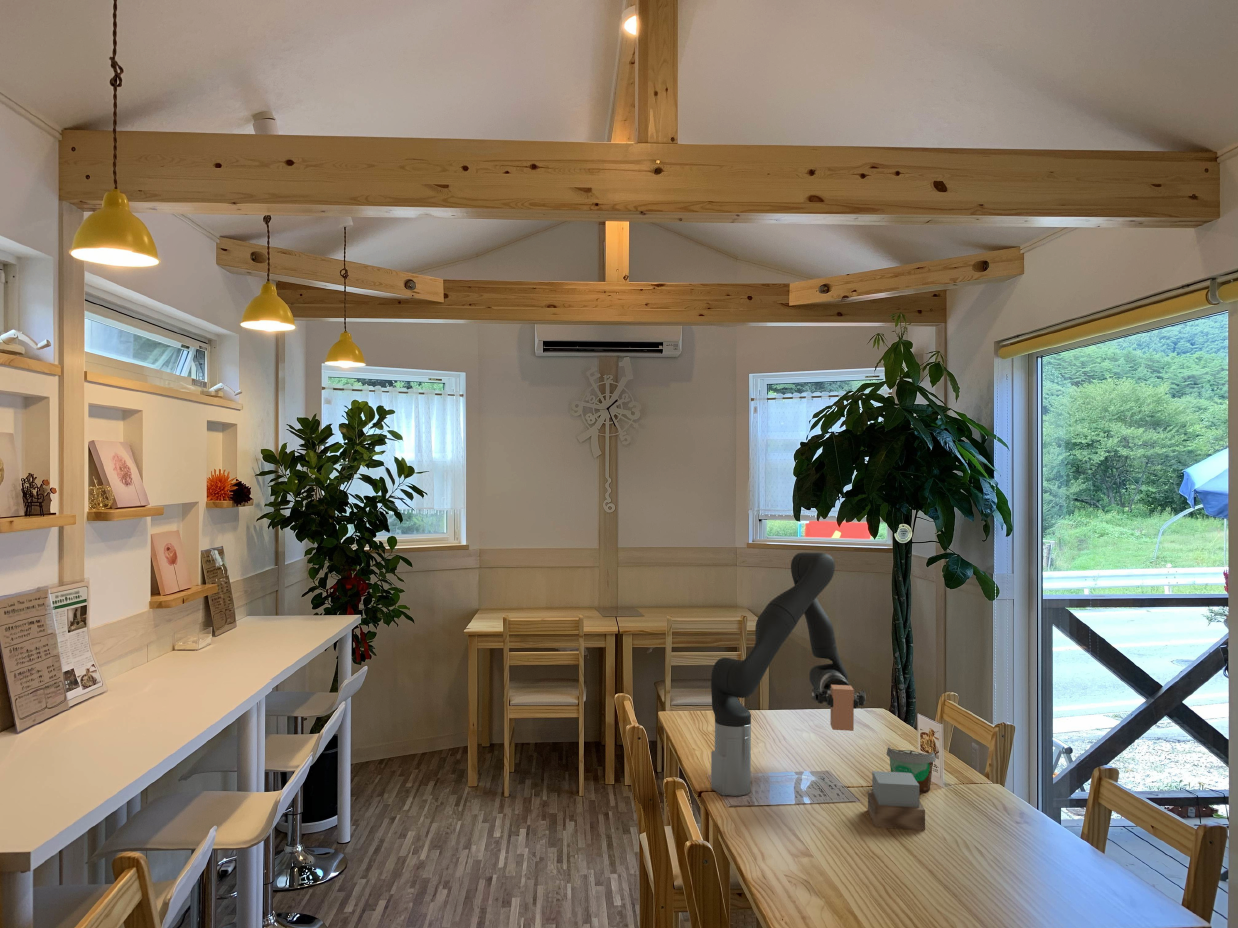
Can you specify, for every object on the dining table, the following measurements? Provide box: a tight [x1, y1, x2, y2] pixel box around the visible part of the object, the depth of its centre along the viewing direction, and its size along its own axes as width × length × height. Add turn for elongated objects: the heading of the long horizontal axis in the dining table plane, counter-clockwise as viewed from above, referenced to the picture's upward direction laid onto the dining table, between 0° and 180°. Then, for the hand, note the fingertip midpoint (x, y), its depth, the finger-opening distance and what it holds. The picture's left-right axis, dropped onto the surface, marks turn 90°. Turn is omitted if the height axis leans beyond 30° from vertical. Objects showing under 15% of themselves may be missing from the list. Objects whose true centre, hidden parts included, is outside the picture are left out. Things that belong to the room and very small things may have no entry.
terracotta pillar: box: [829, 685, 855, 732], centre depth 215 cm, size 5×5×10 cm
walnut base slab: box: [867, 790, 926, 831], centre depth 201 cm, size 11×11×5 cm
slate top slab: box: [871, 770, 920, 807], centre depth 202 cm, size 9×9×5 cm
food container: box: [886, 746, 936, 794], centre depth 222 cm, size 12×6×10 cm, turn 62°
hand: (843, 703), depth 212 cm, fingers closed on terracotta pillar, 5 cm apart
